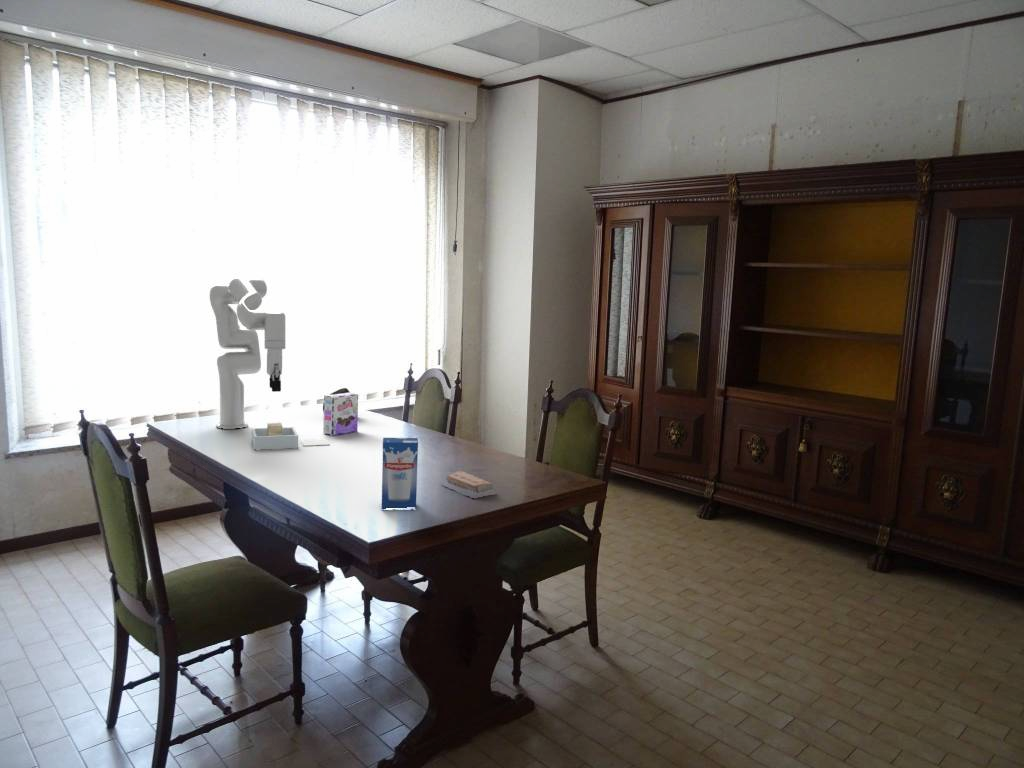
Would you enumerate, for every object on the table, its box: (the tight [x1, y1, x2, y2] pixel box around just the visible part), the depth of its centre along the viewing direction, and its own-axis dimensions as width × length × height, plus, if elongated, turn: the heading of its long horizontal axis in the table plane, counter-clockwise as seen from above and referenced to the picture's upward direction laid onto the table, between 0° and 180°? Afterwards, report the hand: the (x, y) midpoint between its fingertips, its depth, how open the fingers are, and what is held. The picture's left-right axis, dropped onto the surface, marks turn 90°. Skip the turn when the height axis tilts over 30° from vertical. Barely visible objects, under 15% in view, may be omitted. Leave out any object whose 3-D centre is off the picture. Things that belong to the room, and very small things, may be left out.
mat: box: [299, 438, 330, 447], centre depth 290 cm, size 10×10×1 cm
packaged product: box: [446, 470, 494, 493], centre depth 236 cm, size 18×5×10 cm
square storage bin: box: [251, 426, 299, 451], centre depth 284 cm, size 16×16×5 cm
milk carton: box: [381, 437, 419, 510], centre depth 214 cm, size 10×6×20 cm, turn 99°
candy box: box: [323, 392, 359, 437], centre depth 309 cm, size 14×6×16 cm, turn 143°
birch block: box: [266, 422, 283, 436], centre depth 283 cm, size 5×5×6 cm
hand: (275, 389), depth 281 cm, fingers open, 9 cm apart
